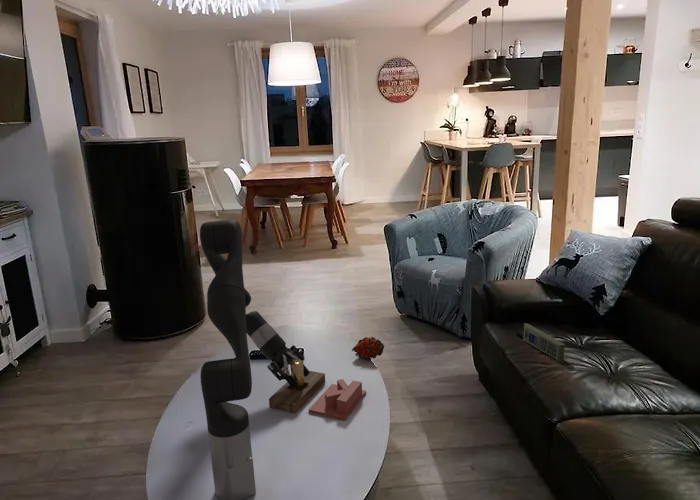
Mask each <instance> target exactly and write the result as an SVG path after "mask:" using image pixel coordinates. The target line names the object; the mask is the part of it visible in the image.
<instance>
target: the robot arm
mask: <svg viewBox="0 0 700 500" xmlns="http://www.w3.org/2000/svg"><path fill="white" fill-rule="evenodd" d="M242 230H243V229H242V226H241V224H240V222H239V221H238V220H236V219H223V220H222V219H221V220H213V221H207V222H204V223H202V224H201V225H200V228H199V241H200V245H201V248H202V251H203V254H204V256H205V258H206V260H207V261H208V263H209V266H210V268H211V269H212V271H213V273H214V275H215V276H214V277H213V278H212V280H211V282H210V284H209V286H208V288H207V292H206V293H207V294H206V297H207V299H206V300H207V301H206V304H207V307H206V310H207V315H208V318H209V319H210V321H211V323H212V324H213V326H215V328H217V330H218V331H219V332H220V334H221V335H223V336H224V338H225V340H226V341H227V342H228V344H229V345H230V348H231V349H232V351H233V354H234V356H235V357H233V358H225V359H224V358H223V359H217V360H216V359H215V360H209V361H206V362H204V363H203V364H202V367H201V369H200V386H201V393H202V398H203V402H204V403H203V404H204V409H205V416H206V423H207V432H208V433H207V434H208V443H209V451H210V452H209V453H210V458H211V459H210V460H211V467H212V468H211V469H212V476H213V485H214V493H215V494H214V495H215V497H216V499H217V500H246V499H249V498H250V497H252V496H253V495H256V494H257V491H256V490H257V488H256V480H255V469H254V459H253V452H252V451H253V449H252V440H251V429H250V417H249V413H248V410H247V409H246V408H245V407H244V406H242V405H239V404H237V403H231V402H233V401H241V400H245V399H248V398H249V397H250V396H251V393H252V388H253V381H252V380H253V379H252V378H253V377H252V367H251V362H250V361H251V359H250V352H249V344H248V336H249V338H250V339H251V341H252V342H253V343H254V345H255V346H256V347H257V348H258V350H259V351H260V352H261V353H262V354H263V356H265V358H266V359H268V360H271V362H270V363H269V364H268V365H267V369H268V370H269V371H270V372H271V374H272V375H274V377H276V379H277V380H278V381H282V380H284V381H286V383H287V382H288V383H289V384H290V386H292V387H293V388H295V387H296V386H297V385H298V382H297V381H296V380H295V379H294V377H293V376H292V375H291V372H290V368H289V367H290V363H291V361H294V360H301V361H303V362H304V361H305V356H303V354H302V353H301V352H300V351H299V349H298V348H297V346H296V345H294V344H292V345H291V346H290V347H287V346H286V344H287V343H286V341H285V340H284V339H283V338H282V337H281V336H280V335H279V334H278V332H277V331H276V329H275V328H273V327H272V326H271V324H269V322H267V320H266V319H265V318H264V317H263V316H262V315H261V314H260V313H259V312H258V311H257V310H254V311H250V312H248V313H247V311H246V310H247V307H248V306H249V305H250V304H251V301H252V296H251V294H250V292H249V291H248V290H247V289H246V288H245V284H244V283H245V282H244V273H243V242H244V241H243V231H242ZM226 254H227V258H225V257H224V256H222V255H226ZM303 370H304V376H305V377H306V376H307V375H308V374H309V373H310V372H309V371H310V370H309V369H308V367H307V366H306V365H305V364H304V363H303Z"/></svg>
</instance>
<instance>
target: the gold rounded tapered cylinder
mask: <svg viewBox="0 0 700 500" xmlns="http://www.w3.org/2000/svg"><path fill="white" fill-rule="evenodd" d="M303 364H304V360H303V361H301V360H294V361H291V363H290V364H289V367H290V375H292V376H293V377H294V379H295V380H296V381H297V382H298V385H297V386H296V387H295V388H293V387H292V389H293V390H298V391H302V390H303V389H304V388H305V386H304V370H303Z"/></svg>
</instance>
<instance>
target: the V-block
mask: <svg viewBox="0 0 700 500" xmlns="http://www.w3.org/2000/svg"><path fill="white" fill-rule="evenodd" d="M366 394H367V390H364V389H363V382H362V381H358V380H353V379H352V381H351V382H350V383H349V385H348V384H347V382H346V381H345V380H344V378H341V379H338V380H336V384H335V383H331V384H330V386H329V387H328V388H327V389H326V390H325V391H324V392H323V393H322V394H321V395H320V396H319V397H318V398H317V400H316V401H315V402H314V403H313V404H312V405H311V406H310V407H309V408H308V413H310V414H314V415H318V416H323V417H326V418H331V419H335V420H339V421H344V422H346V421H347V419H348V418H349V416H351V414H352V412H353V411H354V410H355V409H356V408H357V406H358V405H359V403H361V401H362V400H363V398H364V397H365V396H366Z"/></svg>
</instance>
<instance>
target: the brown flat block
mask: <svg viewBox="0 0 700 500" xmlns="http://www.w3.org/2000/svg"><path fill="white" fill-rule="evenodd" d="M309 372H310V373H309V374H308V375H307V376H306V377H305V376H304V386H305V388H304V389H303V390H302V391H298V390H293V389H292V386H290V384H289V383H288V382H287V381H286V382H285V383H284V384H283V385H282V386H281V387H280V388H279V389H278V390H277V391H276V392H274V393H273V394H272V395H271V396H270V397H268V405H269V408H270V409H274V410H279V411H282V412H287V413H291V414H297V412H298V411H300V409H301V408H302V407H303V406H304V405H305V404H306V403H307V402H308V401H309V400H310V399H311V398H312V397H313V396H314V394H315V393H317V391H318V390H319V389H320V388H321V387H322V386H323V385H324V384H325V383H326V373H323V372H317V371H313V370H309Z"/></svg>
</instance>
